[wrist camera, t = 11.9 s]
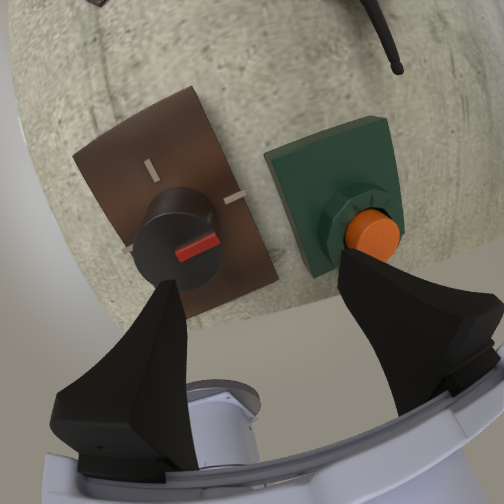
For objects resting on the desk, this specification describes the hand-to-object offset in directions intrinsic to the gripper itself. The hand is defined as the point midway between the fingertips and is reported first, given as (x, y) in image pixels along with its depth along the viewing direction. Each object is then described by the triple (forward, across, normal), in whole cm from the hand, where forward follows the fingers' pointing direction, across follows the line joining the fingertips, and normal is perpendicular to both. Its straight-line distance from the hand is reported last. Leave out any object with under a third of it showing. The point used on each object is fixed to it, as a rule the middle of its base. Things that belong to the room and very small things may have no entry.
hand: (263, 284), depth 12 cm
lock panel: (+9, +4, -1) cm, 10 cm away
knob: (+6, +4, -1) cm, 7 cm away
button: (+6, -9, +2) cm, 11 cm away
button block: (+9, -8, 0) cm, 12 cm away
